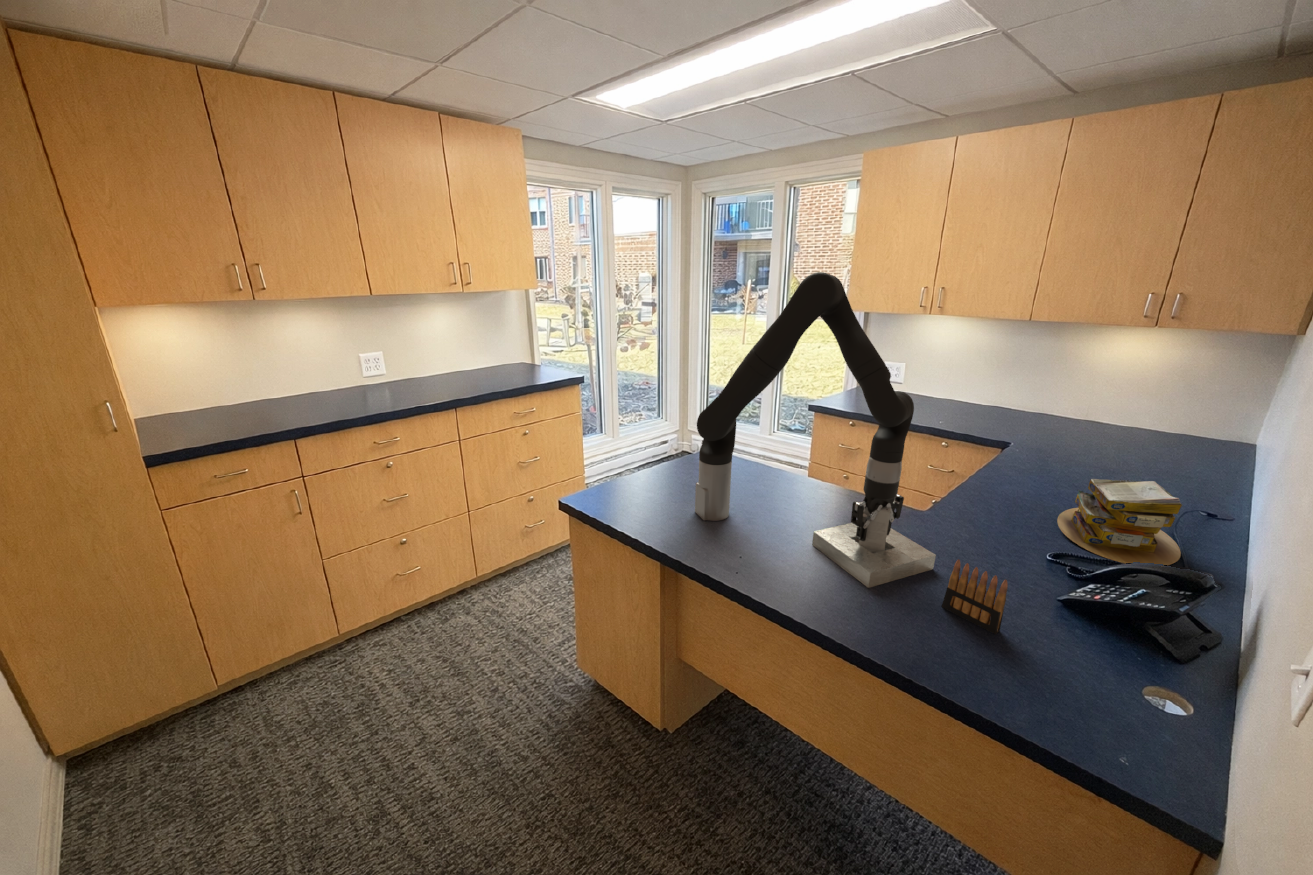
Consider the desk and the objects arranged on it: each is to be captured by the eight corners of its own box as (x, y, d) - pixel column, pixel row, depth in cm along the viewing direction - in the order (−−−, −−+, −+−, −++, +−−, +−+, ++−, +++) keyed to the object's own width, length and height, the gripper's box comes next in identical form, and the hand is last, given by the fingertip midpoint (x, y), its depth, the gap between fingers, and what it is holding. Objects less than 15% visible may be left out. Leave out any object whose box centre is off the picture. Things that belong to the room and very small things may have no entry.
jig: (868, 587, 116) (870, 572, 115) (812, 544, 134) (813, 531, 132) (932, 569, 123) (935, 554, 122) (871, 530, 141) (873, 517, 139)
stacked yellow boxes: (1193, 578, 120) (1219, 514, 114) (1062, 549, 131) (1080, 490, 126) (1161, 532, 140) (1181, 476, 134) (1050, 511, 151) (1065, 459, 146)
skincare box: (884, 547, 128) (891, 504, 124) (883, 555, 125) (891, 511, 121) (858, 541, 131) (865, 499, 127) (857, 549, 127) (863, 506, 123)
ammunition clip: (941, 606, 110) (951, 558, 106) (945, 603, 111) (956, 555, 107) (995, 634, 102) (1009, 583, 98) (999, 630, 103) (1013, 580, 99)
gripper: (870, 486, 115) (860, 550, 121) (918, 477, 120) (906, 538, 126) (847, 474, 122) (839, 535, 127) (893, 465, 127) (883, 524, 132)
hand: (872, 536), depth 126 cm, fingers closed on skincare box, 7 cm apart
